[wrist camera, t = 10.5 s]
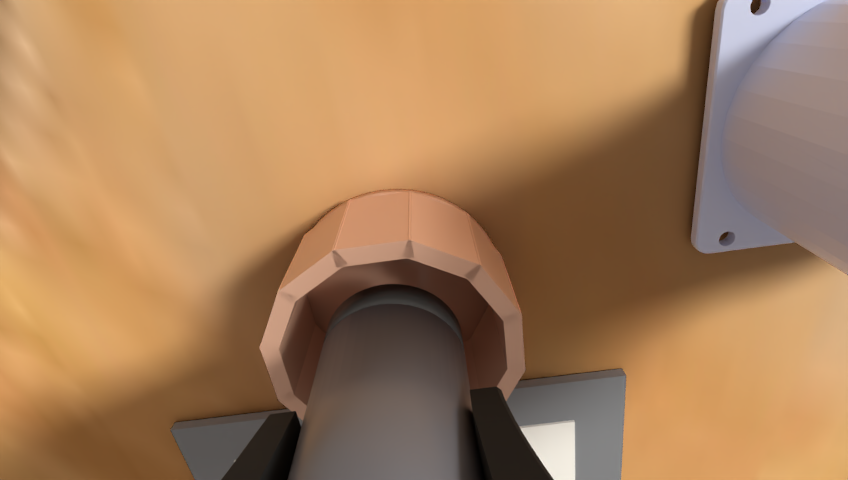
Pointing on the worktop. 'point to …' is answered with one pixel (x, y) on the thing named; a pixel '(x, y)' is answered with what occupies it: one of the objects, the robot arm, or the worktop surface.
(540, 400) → the writing mat
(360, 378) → the marker
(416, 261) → the pen cup
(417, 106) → the worktop surface
